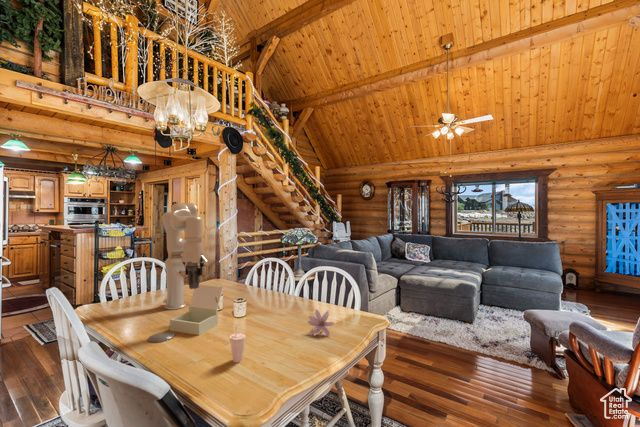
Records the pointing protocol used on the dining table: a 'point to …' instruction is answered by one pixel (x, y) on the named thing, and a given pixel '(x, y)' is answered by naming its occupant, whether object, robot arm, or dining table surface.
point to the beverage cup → (193, 275)
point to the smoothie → (237, 346)
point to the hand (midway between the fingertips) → (193, 274)
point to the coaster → (161, 337)
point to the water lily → (320, 323)
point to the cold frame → (199, 311)
